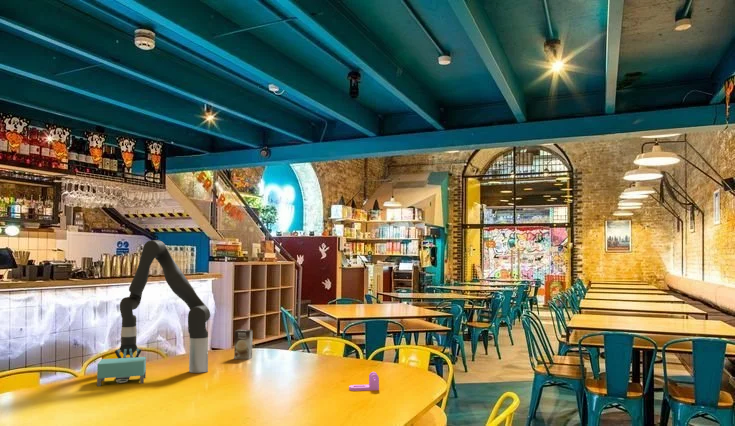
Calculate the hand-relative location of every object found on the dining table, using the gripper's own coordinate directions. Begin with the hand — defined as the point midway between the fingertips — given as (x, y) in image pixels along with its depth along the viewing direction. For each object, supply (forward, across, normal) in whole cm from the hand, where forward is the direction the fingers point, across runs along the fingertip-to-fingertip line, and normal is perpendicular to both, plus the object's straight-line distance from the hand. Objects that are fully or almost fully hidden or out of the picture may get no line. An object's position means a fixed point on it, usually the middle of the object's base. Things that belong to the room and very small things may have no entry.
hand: (127, 368), depth 309 cm
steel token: (+1, 0, +28) cm, 28 cm away
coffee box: (+1, -60, -16) cm, 62 cm away
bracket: (-1, -106, +77) cm, 131 cm away
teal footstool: (0, 0, +28) cm, 28 cm away
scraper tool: (+1, 0, +10) cm, 10 cm away
